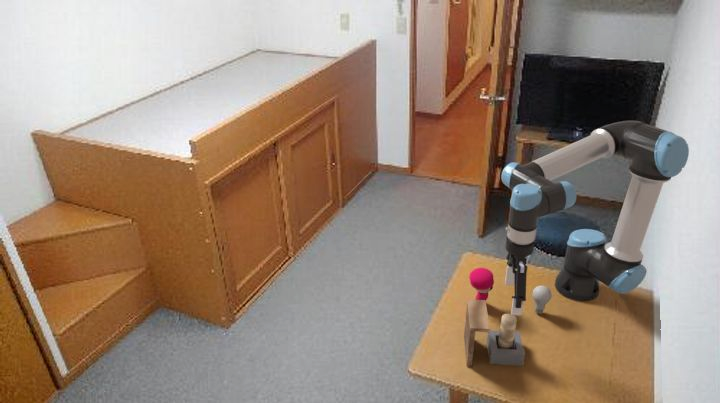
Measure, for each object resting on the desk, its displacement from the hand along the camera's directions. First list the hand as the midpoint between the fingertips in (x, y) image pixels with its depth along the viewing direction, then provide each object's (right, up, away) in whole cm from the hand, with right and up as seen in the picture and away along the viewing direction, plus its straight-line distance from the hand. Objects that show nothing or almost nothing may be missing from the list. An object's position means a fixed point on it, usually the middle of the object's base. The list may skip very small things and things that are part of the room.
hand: (512, 298), depth 160 cm
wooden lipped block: (-10, -18, +11) cm, 24 cm away
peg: (0, -19, +10) cm, 21 cm away
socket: (0, -19, +10) cm, 21 cm away
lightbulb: (+16, -10, +26) cm, 32 cm away
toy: (-4, -8, +30) cm, 31 cm away
